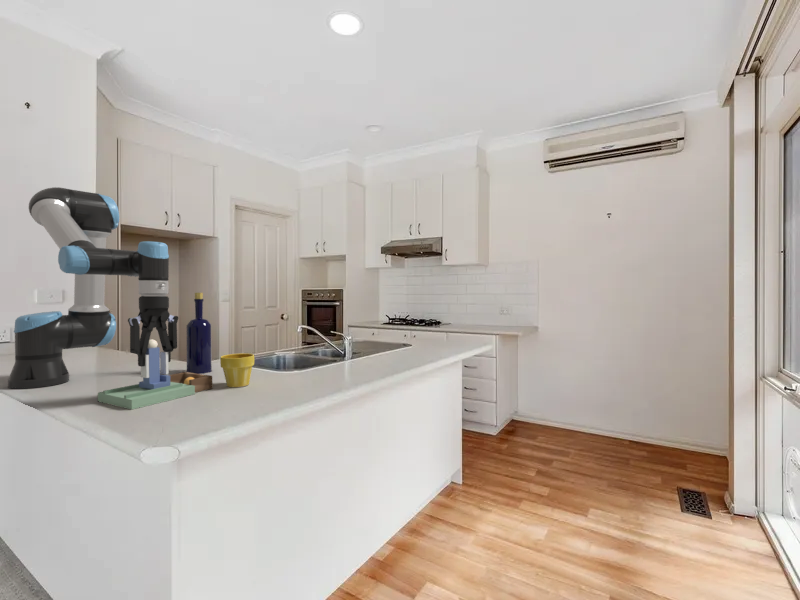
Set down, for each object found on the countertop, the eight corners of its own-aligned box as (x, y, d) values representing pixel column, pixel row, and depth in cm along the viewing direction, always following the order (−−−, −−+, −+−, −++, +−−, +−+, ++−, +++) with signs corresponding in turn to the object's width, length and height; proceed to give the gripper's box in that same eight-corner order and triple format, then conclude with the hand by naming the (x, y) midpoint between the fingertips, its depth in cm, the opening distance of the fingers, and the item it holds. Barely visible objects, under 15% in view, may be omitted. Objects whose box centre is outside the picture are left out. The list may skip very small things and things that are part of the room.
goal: (164, 388, 129) (164, 375, 129) (185, 384, 135) (185, 371, 135) (191, 393, 123) (191, 380, 123) (212, 388, 129) (212, 375, 129)
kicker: (138, 387, 119) (138, 339, 118) (156, 383, 123) (156, 337, 123) (153, 389, 116) (153, 340, 115) (171, 386, 120) (171, 338, 120)
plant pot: (213, 386, 131) (213, 356, 131) (239, 380, 140) (239, 352, 140) (235, 390, 127) (235, 359, 126) (261, 384, 136) (261, 354, 135)
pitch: (97, 401, 113) (97, 389, 113) (161, 388, 129) (161, 377, 129) (131, 409, 106) (131, 396, 106) (194, 394, 122) (194, 383, 122)
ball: (184, 389, 129) (179, 381, 128) (193, 383, 132) (188, 374, 131) (191, 391, 128) (186, 382, 126) (200, 384, 131) (195, 375, 129)
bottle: (205, 374, 151) (204, 292, 150) (180, 374, 151) (180, 292, 151) (217, 369, 160) (216, 292, 160) (193, 369, 160) (193, 292, 160)
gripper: (128, 295, 109) (130, 383, 110) (190, 295, 125) (191, 371, 126) (113, 295, 113) (114, 380, 113) (175, 295, 129) (176, 369, 129)
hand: (154, 375), depth 119 cm, fingers closed on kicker, 5 cm apart
